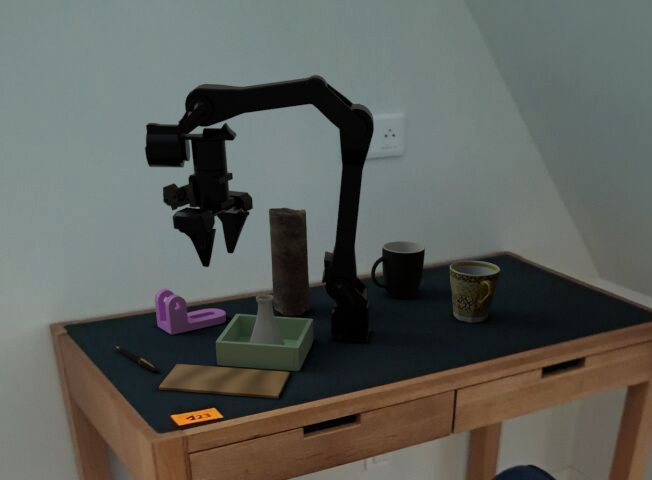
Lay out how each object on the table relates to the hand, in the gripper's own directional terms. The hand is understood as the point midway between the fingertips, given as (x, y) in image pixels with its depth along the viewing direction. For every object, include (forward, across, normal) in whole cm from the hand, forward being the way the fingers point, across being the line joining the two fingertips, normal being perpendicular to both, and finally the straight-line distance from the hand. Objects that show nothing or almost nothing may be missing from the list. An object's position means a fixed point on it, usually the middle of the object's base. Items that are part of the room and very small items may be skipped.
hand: (218, 259), depth 156 cm
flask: (+14, +6, +12) cm, 19 cm away
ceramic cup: (+15, -27, +42) cm, 52 cm away
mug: (+15, -35, +22) cm, 44 cm away
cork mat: (+14, +20, +11) cm, 27 cm away
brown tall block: (+14, -17, +6) cm, 23 cm away
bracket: (+14, -2, -8) cm, 16 cm away
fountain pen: (+14, +18, -8) cm, 24 cm away
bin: (+14, +6, +12) cm, 19 cm away
